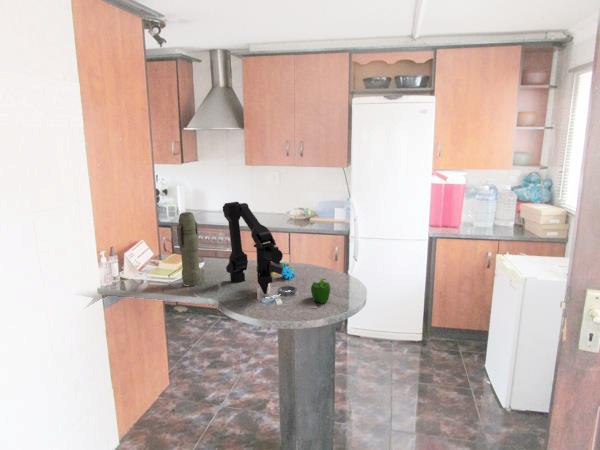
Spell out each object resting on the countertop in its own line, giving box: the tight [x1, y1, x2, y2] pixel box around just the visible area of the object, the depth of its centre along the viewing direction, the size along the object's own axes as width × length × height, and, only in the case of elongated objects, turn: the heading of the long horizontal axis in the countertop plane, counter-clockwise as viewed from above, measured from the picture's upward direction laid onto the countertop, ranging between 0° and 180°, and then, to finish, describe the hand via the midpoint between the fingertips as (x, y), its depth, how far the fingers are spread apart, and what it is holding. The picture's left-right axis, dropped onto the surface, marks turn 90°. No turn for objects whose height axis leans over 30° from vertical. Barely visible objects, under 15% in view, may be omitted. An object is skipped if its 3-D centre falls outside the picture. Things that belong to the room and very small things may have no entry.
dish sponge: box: [270, 262, 290, 276], centre depth 224 cm, size 7×14×2 cm, turn 142°
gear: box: [280, 264, 296, 281], centre depth 210 cm, size 11×6×10 cm
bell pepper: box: [310, 277, 331, 304], centre depth 181 cm, size 8×8×10 cm
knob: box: [258, 283, 271, 295], centre depth 189 cm, size 5×5×6 cm
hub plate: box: [256, 285, 300, 301], centre depth 190 cm, size 18×14×2 cm
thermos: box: [176, 211, 202, 287], centre depth 204 cm, size 9×12×35 cm
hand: (264, 291), depth 189 cm, fingers closed on knob, 5 cm apart
